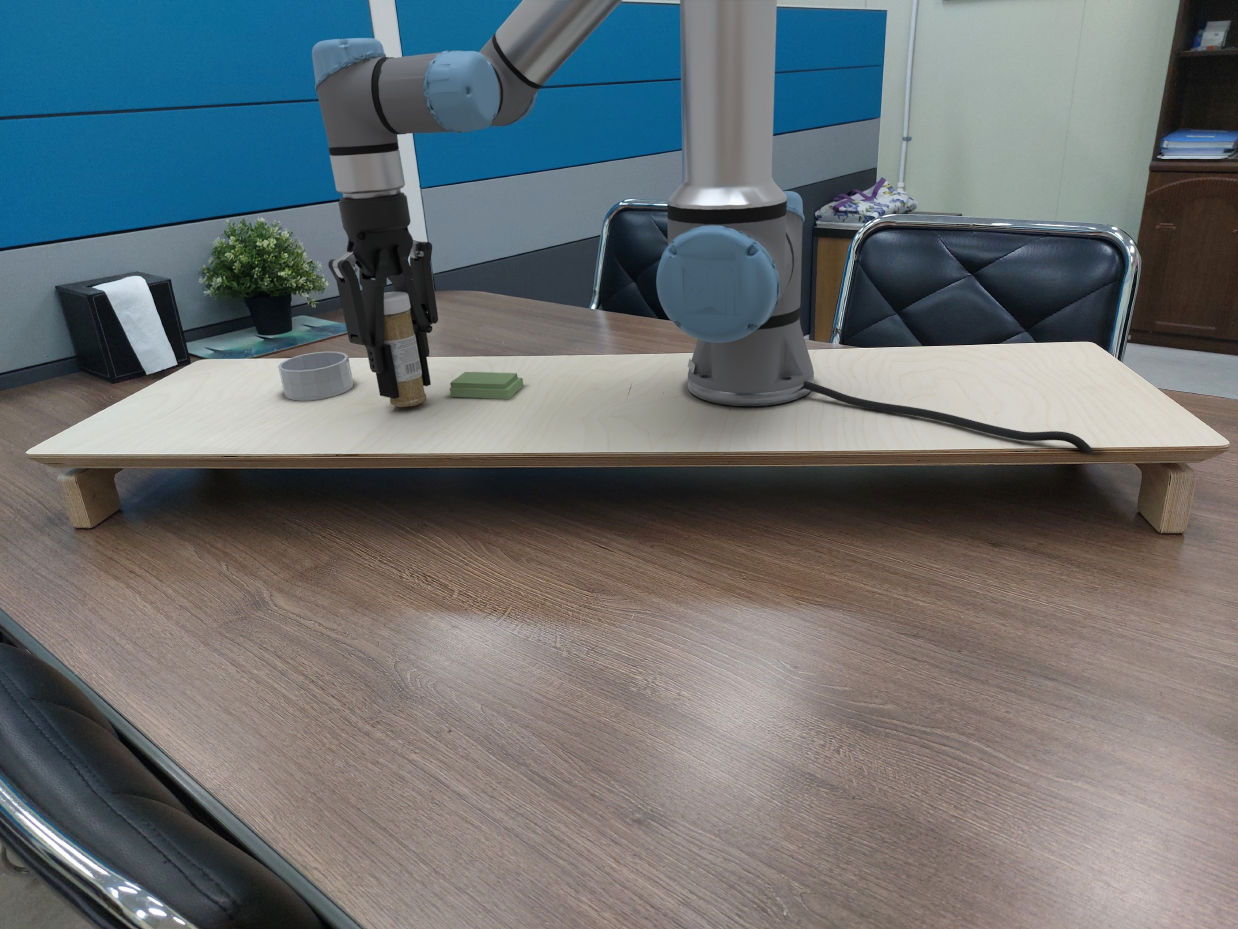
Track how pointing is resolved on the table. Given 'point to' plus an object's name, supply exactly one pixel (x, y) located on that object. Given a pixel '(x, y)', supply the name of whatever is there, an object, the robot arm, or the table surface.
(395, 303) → the spice jar
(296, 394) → the grey short cylinder
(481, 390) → the green stepped block
